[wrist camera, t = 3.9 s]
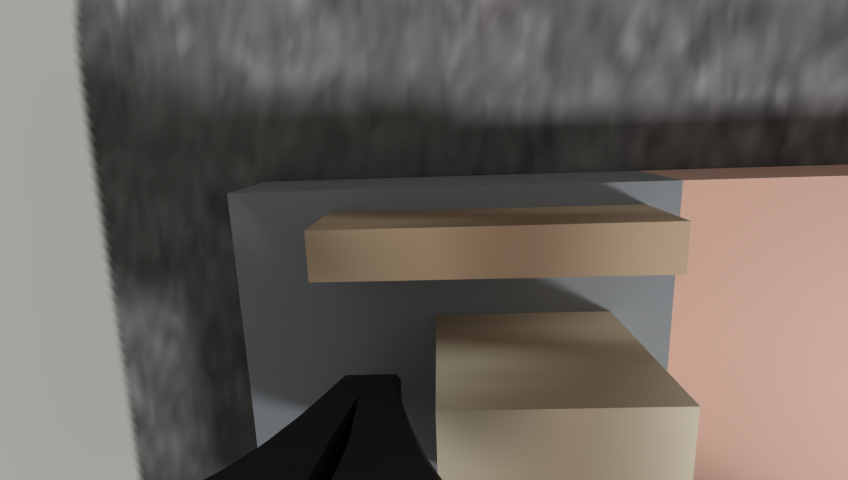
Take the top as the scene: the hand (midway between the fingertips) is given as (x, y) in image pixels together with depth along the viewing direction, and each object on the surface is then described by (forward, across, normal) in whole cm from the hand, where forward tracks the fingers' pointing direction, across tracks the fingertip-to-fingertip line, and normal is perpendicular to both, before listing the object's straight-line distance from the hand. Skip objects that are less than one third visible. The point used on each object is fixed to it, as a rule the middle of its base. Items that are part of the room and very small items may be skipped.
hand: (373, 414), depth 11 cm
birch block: (+1, -4, 0) cm, 4 cm away
